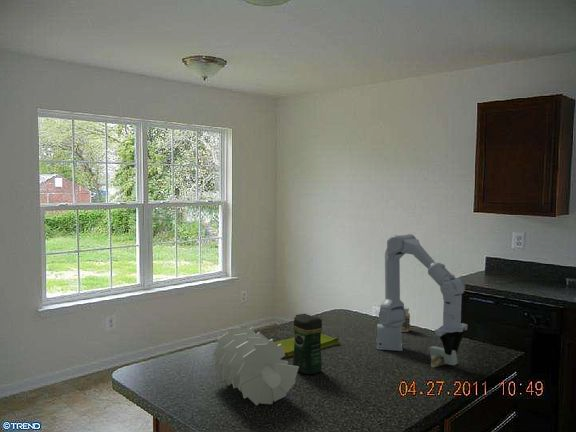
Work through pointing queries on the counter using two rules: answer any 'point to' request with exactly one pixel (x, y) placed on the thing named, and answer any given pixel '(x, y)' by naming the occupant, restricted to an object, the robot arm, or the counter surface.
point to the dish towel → (289, 343)
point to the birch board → (437, 361)
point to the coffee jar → (307, 343)
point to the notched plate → (444, 355)
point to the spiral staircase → (254, 365)
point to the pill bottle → (406, 321)
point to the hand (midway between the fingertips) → (450, 353)
